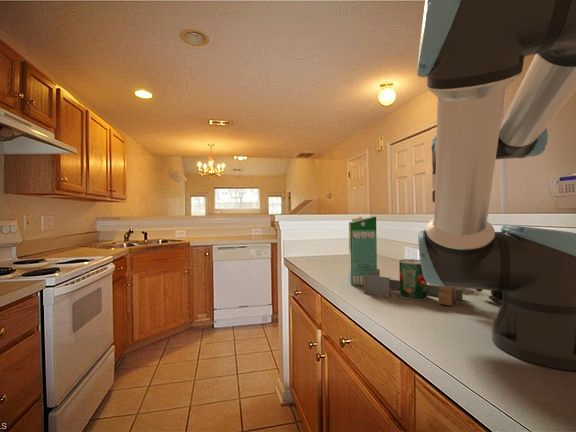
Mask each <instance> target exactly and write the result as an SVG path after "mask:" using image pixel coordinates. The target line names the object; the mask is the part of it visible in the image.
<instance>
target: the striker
mask: <svg viewBox="0 0 576 432" xmlns="http://www.w3.org/2000/svg"><path fill="white" fill-rule="evenodd" d="M456 288H457V287H444V286H439V296H438V304H439V305H445V306H452V304H454V301H455V300H457V299H456Z"/></svg>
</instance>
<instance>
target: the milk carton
mask: <svg viewBox="0 0 576 432" xmlns="http://www.w3.org/2000/svg"><path fill="white" fill-rule="evenodd" d="M348 252H349V253H348V265H349V266H348V267H349V269H348V271H349V272H348V275H349V276H348V277H349V282H350V284H351V286H364V275H365V274H367V273H370V272H372V271H374V270H377V269H378V268H377V267H378V263H377V262H378V256H377V252H378V251H377V217H376V216H373V215H371V216H369V217H364V218H363V216H357V217H353V218H351V221H349V222H348Z"/></svg>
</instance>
